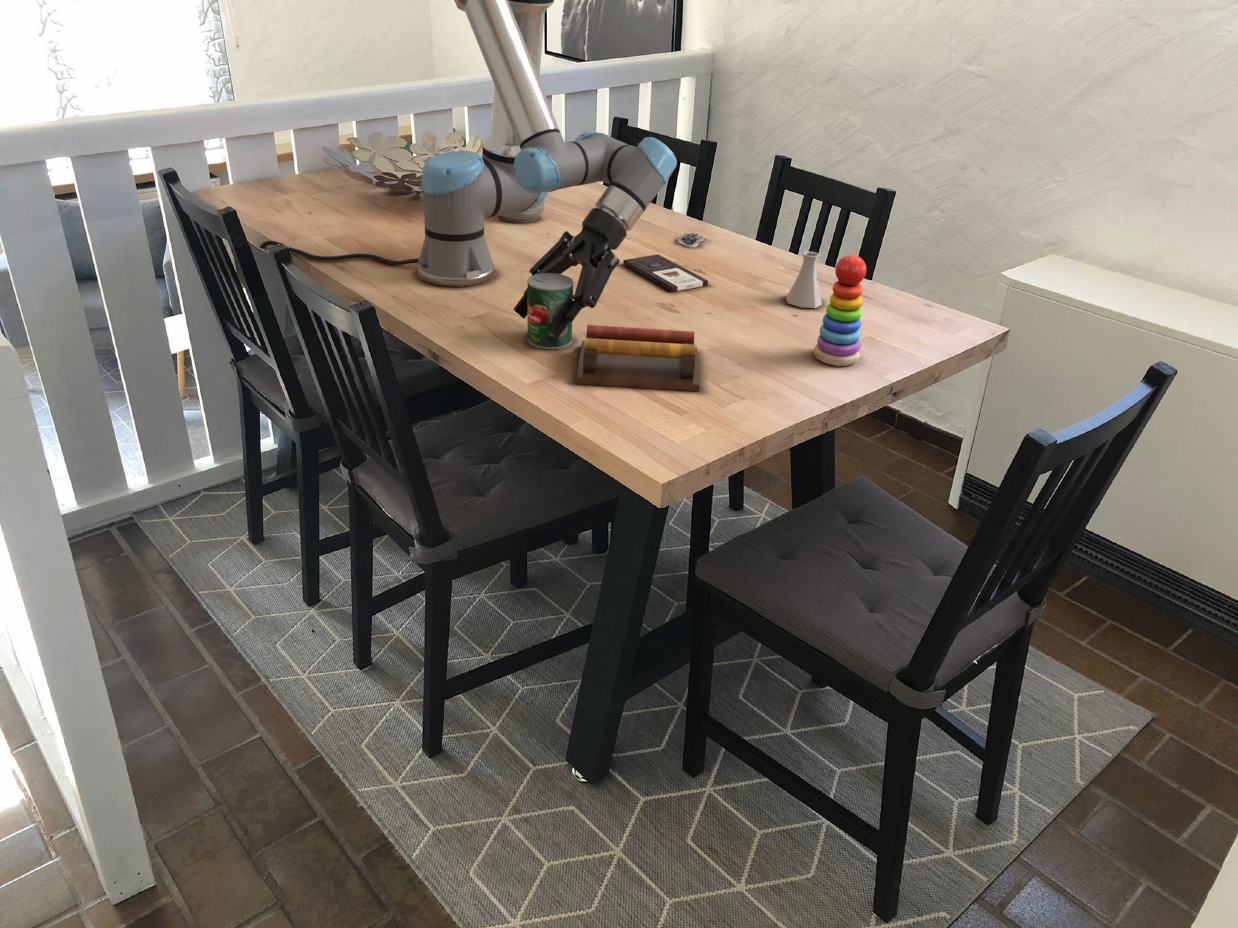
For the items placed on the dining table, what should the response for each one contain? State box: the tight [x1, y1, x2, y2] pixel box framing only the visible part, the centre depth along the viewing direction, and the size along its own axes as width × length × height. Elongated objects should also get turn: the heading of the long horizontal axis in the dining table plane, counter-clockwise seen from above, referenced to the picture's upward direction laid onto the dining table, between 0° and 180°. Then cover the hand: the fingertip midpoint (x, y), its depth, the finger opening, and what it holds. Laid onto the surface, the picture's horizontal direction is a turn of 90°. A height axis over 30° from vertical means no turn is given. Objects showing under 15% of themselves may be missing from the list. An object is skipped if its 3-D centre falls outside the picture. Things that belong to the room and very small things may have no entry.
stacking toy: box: [813, 254, 867, 367], centre depth 168 cm, size 8×8×19 cm
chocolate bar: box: [622, 253, 709, 293], centre depth 205 cm, size 9×1×18 cm
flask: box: [785, 250, 823, 309], centre depth 194 cm, size 7×7×10 cm
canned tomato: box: [526, 273, 574, 350], centre depth 171 cm, size 8×8×11 cm
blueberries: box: [676, 232, 707, 248], centre depth 225 cm, size 7×8×2 cm
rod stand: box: [575, 324, 701, 392], centre depth 164 cm, size 20×15×6 cm
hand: (535, 323), depth 170 cm, fingers open, 9 cm apart
